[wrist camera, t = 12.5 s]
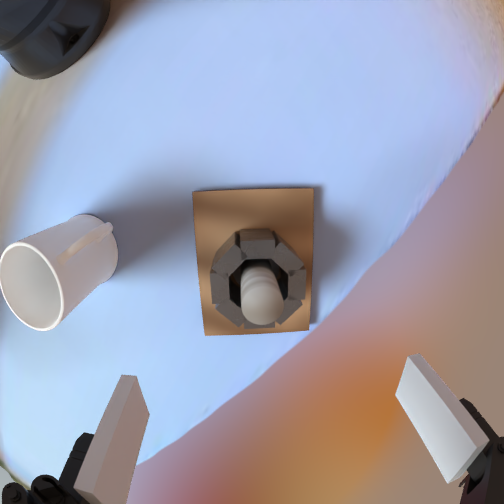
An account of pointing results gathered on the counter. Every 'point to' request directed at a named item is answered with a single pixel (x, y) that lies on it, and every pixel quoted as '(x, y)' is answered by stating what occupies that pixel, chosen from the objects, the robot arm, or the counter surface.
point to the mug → (57, 269)
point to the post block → (254, 270)
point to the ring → (256, 247)
